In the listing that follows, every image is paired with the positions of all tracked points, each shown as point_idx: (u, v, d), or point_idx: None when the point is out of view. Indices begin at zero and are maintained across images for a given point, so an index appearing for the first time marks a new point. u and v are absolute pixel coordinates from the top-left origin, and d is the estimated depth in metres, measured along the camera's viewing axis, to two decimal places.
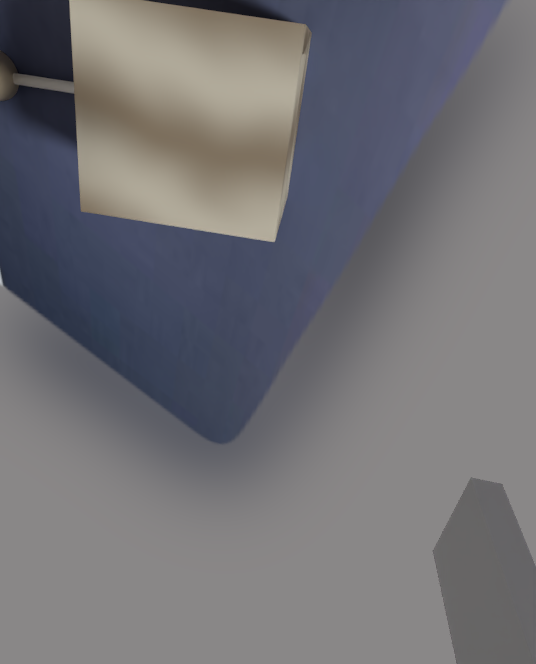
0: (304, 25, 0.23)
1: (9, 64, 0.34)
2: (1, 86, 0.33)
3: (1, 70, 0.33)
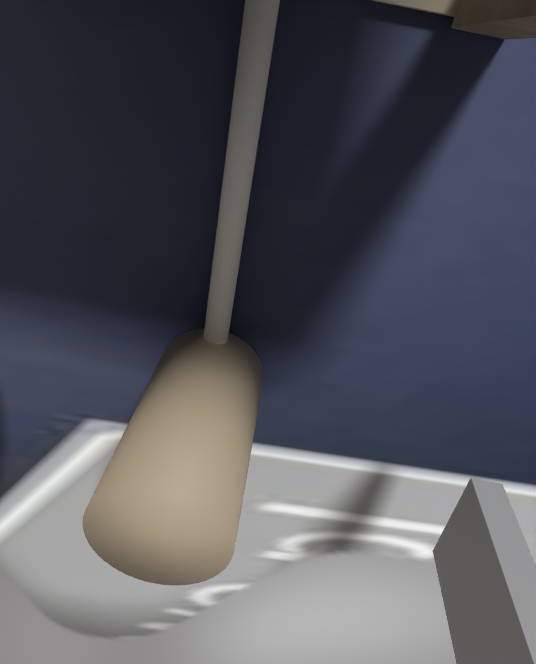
0: None
1: (184, 340, 0.14)
2: (219, 374, 0.13)
3: (186, 361, 0.13)
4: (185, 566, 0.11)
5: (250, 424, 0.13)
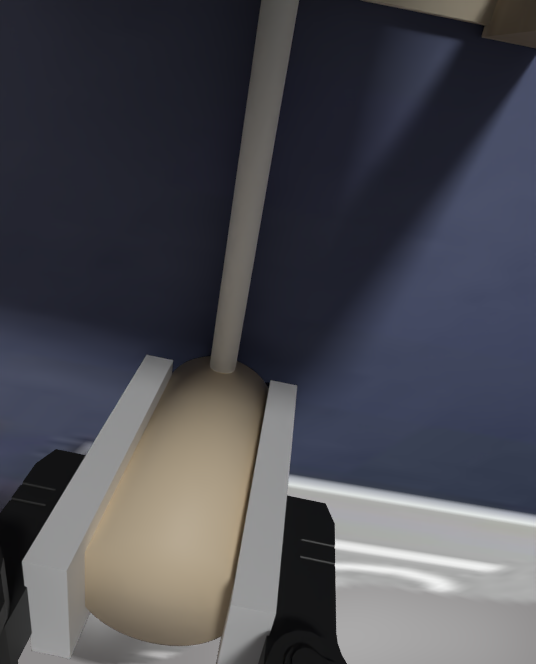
0: None
1: (189, 369, 0.14)
2: (225, 408, 0.12)
3: (190, 393, 0.12)
4: (185, 626, 0.10)
5: None
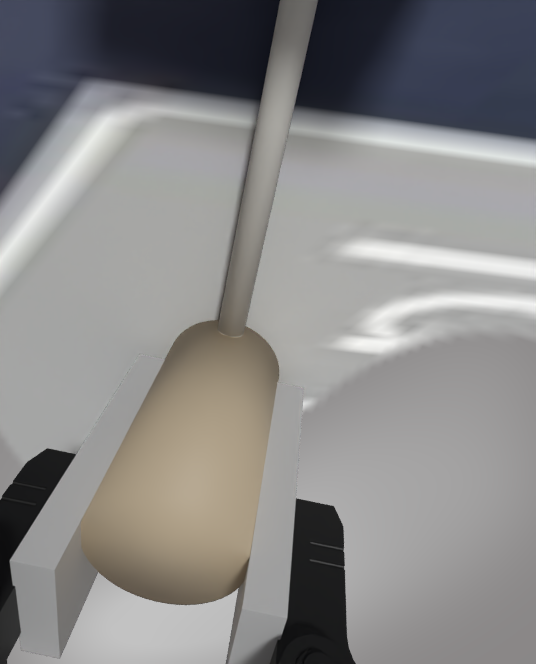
0: None
1: (196, 332, 0.13)
2: (234, 370, 0.12)
3: (199, 354, 0.12)
4: (192, 584, 0.10)
5: (267, 427, 0.12)
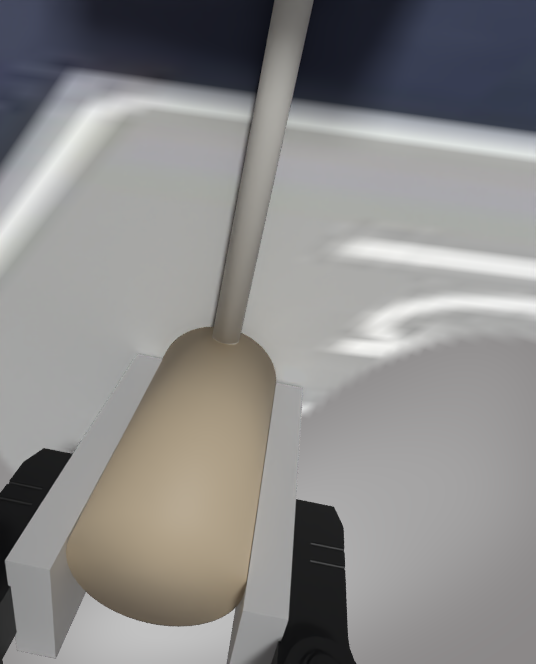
0: None
1: (190, 339, 0.13)
2: (230, 379, 0.11)
3: (192, 362, 0.12)
4: (185, 605, 0.09)
5: (264, 438, 0.11)
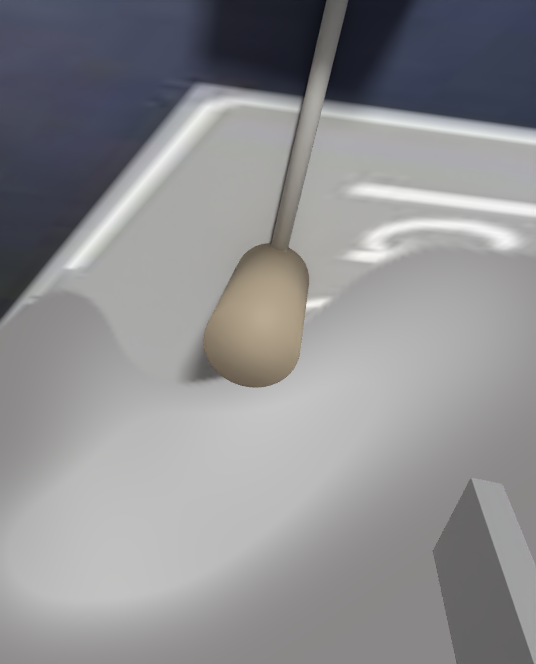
0: None
1: (257, 249, 0.21)
2: (284, 264, 0.19)
3: (262, 257, 0.20)
4: (265, 370, 0.17)
5: (304, 299, 0.19)
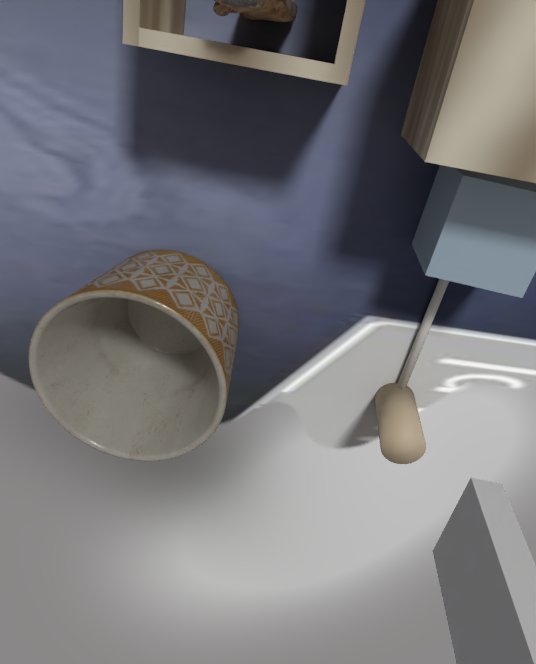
0: None
1: (390, 387, 0.41)
2: (408, 400, 0.39)
3: (396, 395, 0.40)
4: (408, 457, 0.37)
5: None
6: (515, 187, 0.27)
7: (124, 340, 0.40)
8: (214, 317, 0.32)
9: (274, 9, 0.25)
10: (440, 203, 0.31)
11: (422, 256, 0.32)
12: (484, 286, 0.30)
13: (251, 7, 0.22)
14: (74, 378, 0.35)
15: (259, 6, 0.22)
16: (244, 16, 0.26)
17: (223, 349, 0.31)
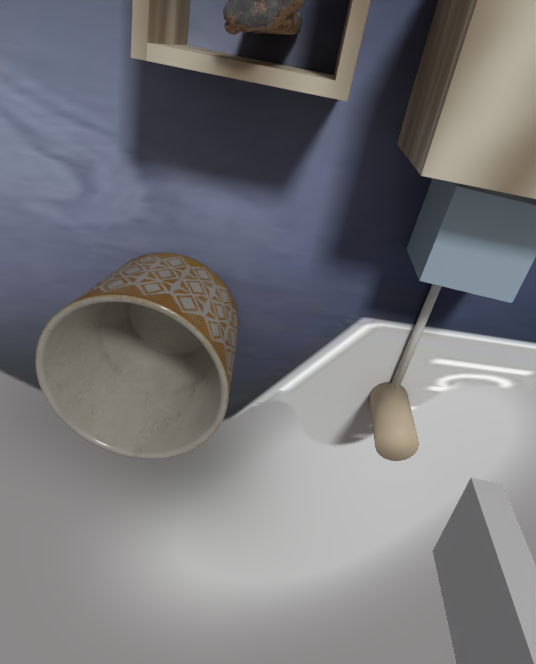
0: None
1: (384, 386, 0.42)
2: (402, 398, 0.41)
3: (390, 394, 0.41)
4: (401, 454, 0.38)
5: None
6: (506, 198, 0.29)
7: (125, 340, 0.40)
8: (216, 320, 0.33)
9: (282, 26, 0.25)
10: (434, 211, 0.32)
11: (417, 262, 0.33)
12: (476, 291, 0.31)
13: (262, 27, 0.22)
14: (78, 378, 0.36)
15: (270, 26, 0.23)
16: (252, 32, 0.27)
17: (225, 351, 0.32)
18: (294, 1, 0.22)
